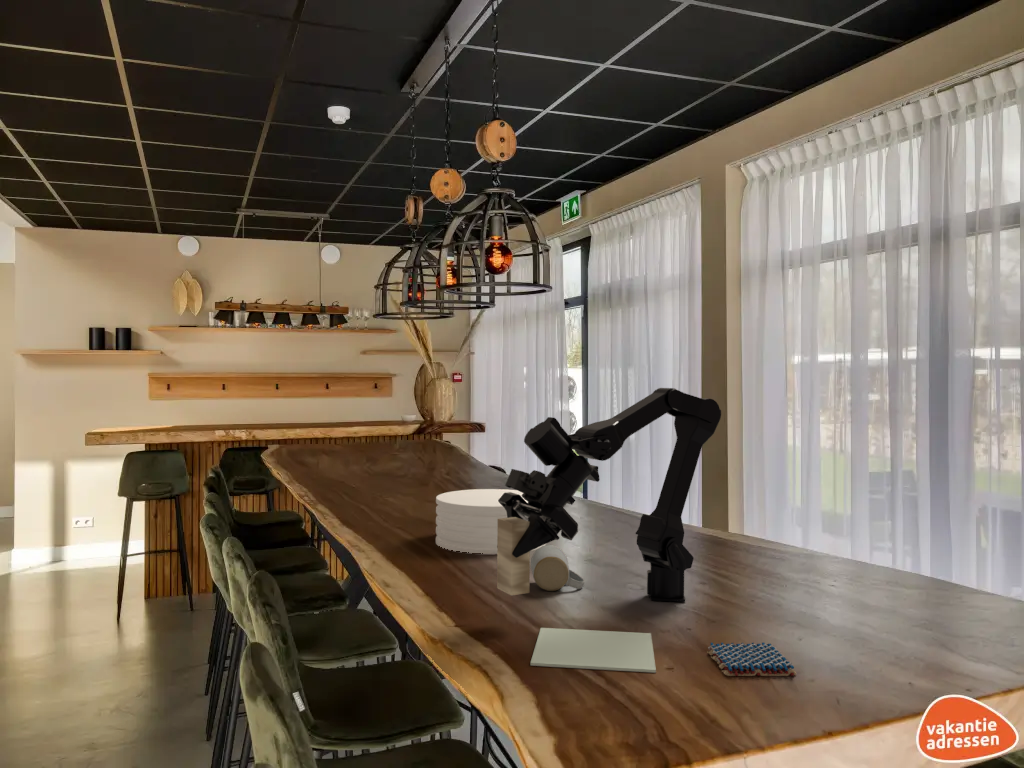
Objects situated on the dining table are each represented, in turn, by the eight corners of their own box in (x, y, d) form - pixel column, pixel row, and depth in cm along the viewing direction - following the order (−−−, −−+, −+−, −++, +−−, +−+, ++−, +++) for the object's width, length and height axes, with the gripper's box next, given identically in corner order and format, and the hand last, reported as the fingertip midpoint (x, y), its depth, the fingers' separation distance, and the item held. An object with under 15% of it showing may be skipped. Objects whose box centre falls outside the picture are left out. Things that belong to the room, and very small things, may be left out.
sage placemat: (650, 635, 128) (650, 633, 128) (655, 672, 112) (655, 669, 112) (540, 630, 130) (540, 627, 130) (530, 665, 114) (530, 662, 114)
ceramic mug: (532, 592, 153) (533, 553, 153) (530, 581, 161) (531, 544, 161) (586, 593, 153) (587, 554, 153) (581, 582, 161) (582, 545, 161)
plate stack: (419, 550, 189) (420, 503, 188) (455, 528, 216) (455, 487, 216) (533, 558, 182) (534, 508, 182) (555, 534, 209) (556, 491, 209)
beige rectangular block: (514, 585, 137) (515, 517, 137) (529, 592, 132) (529, 521, 132) (497, 588, 135) (497, 518, 135) (511, 595, 131) (511, 523, 131)
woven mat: (772, 653, 122) (772, 640, 122) (798, 680, 111) (798, 666, 111) (705, 653, 121) (705, 640, 121) (725, 680, 111) (725, 666, 111)
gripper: (508, 447, 144) (452, 513, 138) (563, 457, 127) (502, 532, 122) (544, 488, 147) (492, 552, 142) (602, 502, 131) (545, 576, 126)
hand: (506, 552), depth 133 cm, fingers closed on beige rectangular block, 5 cm apart
